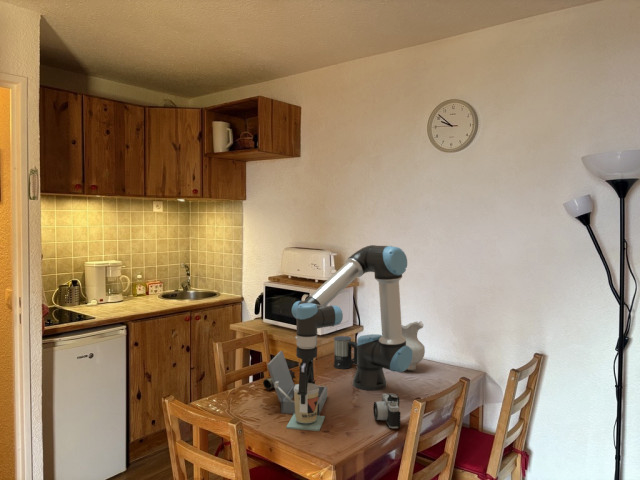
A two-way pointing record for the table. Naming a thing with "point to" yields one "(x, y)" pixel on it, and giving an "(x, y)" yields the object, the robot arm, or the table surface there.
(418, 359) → the ceramic pitcher
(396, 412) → the camera
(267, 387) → the metal pipe
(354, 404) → the table surface
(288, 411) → the equipment case
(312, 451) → the table surface
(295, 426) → the mat
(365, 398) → the table surface
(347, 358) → the milk frother
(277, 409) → the table surface
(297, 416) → the coffee cup
